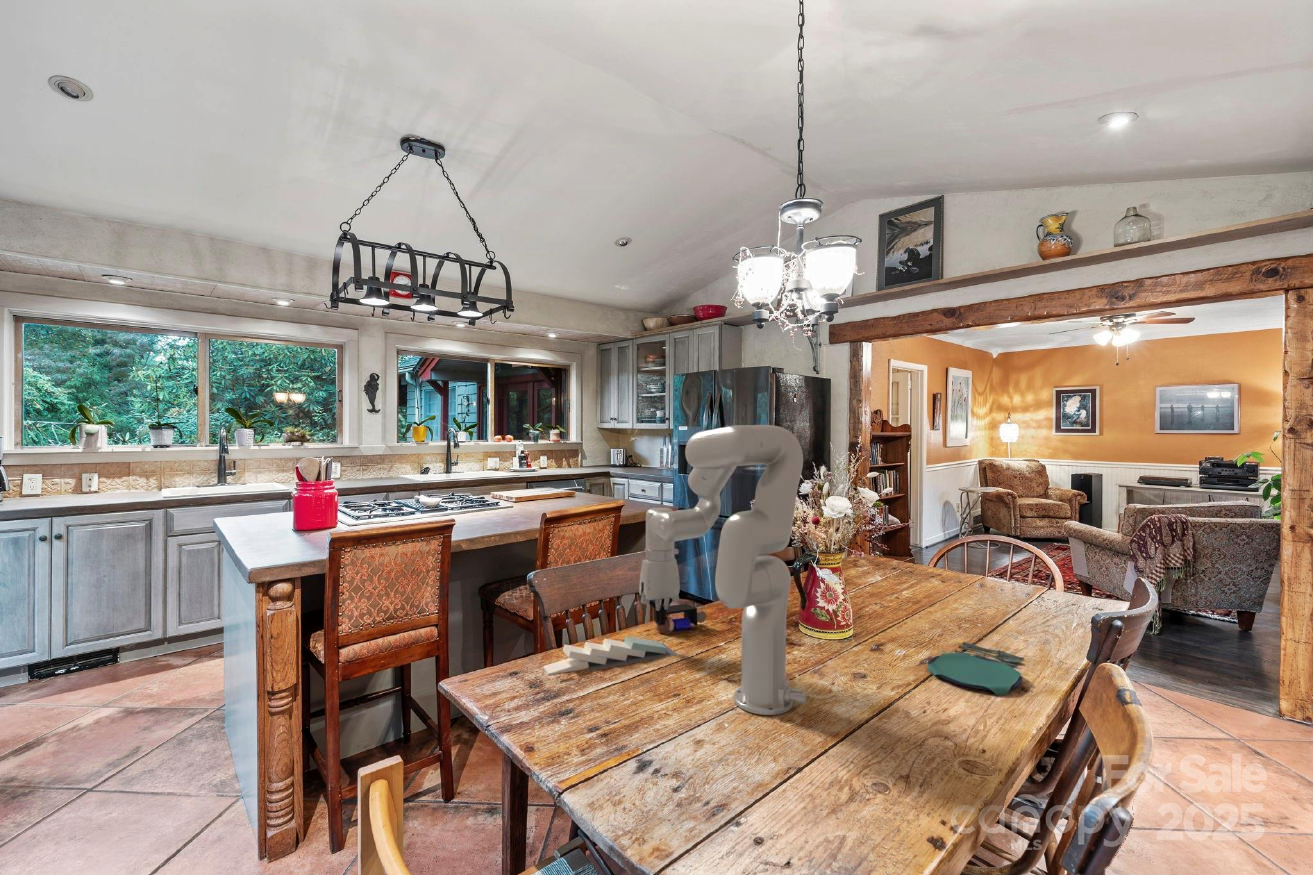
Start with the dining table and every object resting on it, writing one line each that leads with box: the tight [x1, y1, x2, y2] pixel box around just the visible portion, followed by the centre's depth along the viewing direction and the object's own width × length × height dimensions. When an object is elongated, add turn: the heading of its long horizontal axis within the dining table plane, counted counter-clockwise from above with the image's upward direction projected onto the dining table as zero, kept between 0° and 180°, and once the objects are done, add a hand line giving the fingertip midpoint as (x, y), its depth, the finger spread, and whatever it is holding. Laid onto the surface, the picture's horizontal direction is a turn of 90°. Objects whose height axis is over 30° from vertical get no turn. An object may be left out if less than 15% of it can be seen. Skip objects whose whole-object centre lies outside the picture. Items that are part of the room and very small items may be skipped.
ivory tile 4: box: [542, 657, 589, 676], centre depth 143 cm, size 2×5×10 cm
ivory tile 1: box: [601, 637, 646, 658], centre depth 150 cm, size 2×5×10 cm
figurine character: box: [656, 603, 707, 635], centre depth 171 cm, size 7×8×15 cm
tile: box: [623, 636, 667, 654], centre depth 152 cm, size 2×5×10 cm
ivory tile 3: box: [562, 644, 607, 665], centre depth 145 cm, size 2×5×10 cm
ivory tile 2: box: [583, 641, 627, 661], centre depth 148 cm, size 2×5×10 cm
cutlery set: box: [927, 641, 1025, 696], centre depth 143 cm, size 20×30×2 cm, turn 136°
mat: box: [587, 642, 678, 672], centre depth 150 cm, size 24×9×1 cm, turn 115°
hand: (660, 623), depth 154 cm, fingers closed
